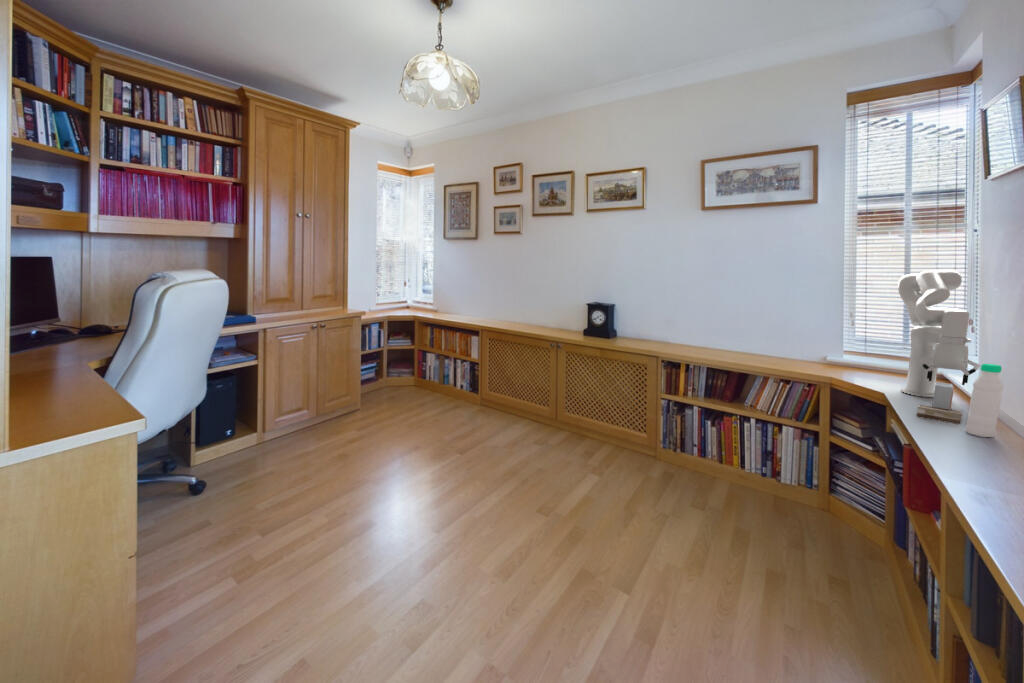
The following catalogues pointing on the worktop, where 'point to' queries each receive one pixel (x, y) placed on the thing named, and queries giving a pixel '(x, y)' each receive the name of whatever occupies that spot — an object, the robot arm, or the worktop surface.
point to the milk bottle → (985, 402)
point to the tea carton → (943, 395)
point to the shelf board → (939, 414)
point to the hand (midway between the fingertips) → (946, 382)
